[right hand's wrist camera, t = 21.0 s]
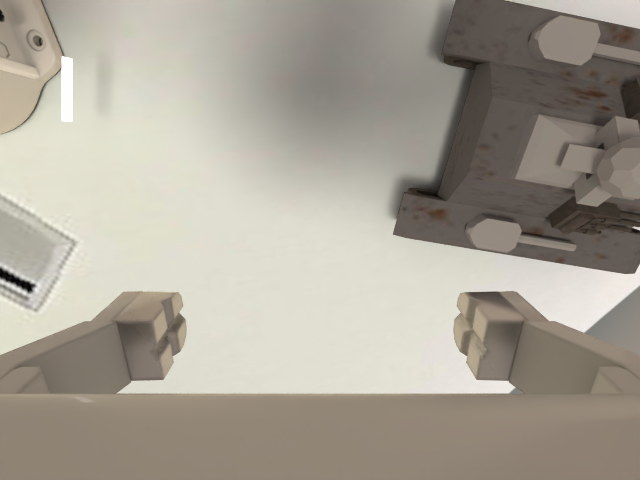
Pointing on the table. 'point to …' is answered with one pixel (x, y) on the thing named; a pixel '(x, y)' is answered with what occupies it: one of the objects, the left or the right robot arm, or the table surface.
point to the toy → (539, 140)
